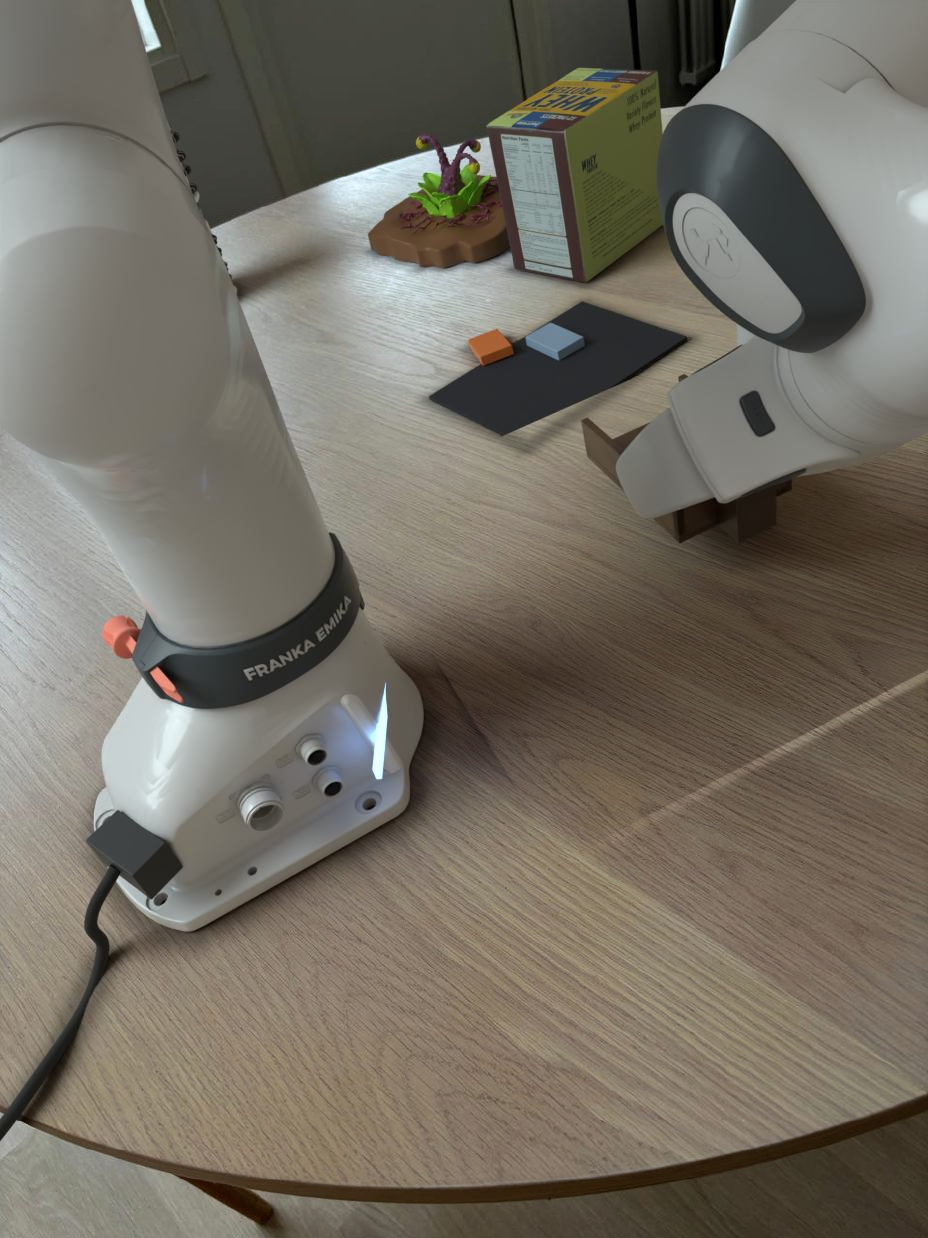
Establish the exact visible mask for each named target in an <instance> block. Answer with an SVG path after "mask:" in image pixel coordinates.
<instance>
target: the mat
mask: <svg viewBox="0 0 928 1238" xmlns="http://www.w3.org/2000/svg"><path fill="white" fill-rule="evenodd" d="M549 323H553V324H555V325H557V326H560V327H562V328H564V329H567V330H569V331H571V332H573V333H576V334H578V335H580V336H583V338H584V344H585V346H584V347H582V348H580V349H578V350H577V351H575V352H573V353H572V354H570V355H568V356H566V357H565V358H563V359H561V360H559V361H558V360H556V359H554V358H552V357H550V356H548V355H546V354H544V353H542V352H540V351H537V350H535V349H533V348H531V347H529V346H527V343H526V338H525V337H526V336H528V335H529V334H531V333H533V332H535V331H536V330H538V329H540V328H542V327H543V326H545V325H547V324H549ZM687 341H688V336H687V335H684V334H681V333H678V332H675V331H672V330H669V329H665V328H663V327H661V326H657V325H654V324H651V323H648V322H645V321H642V320H639V319H636V318H634V317H630V316H627V315H625V314H621V313H618V312H615V311H612V310H609V309H607V308H603V307H600V306H598V305H595V304H592V303H589V302H585V301H584V300H583V301H580V302H579V303H577V304H575V305H574V306H572V307H571V308H569V309H567V310H565V311H564V312H562V313H560V314H559V315H557V316H556V317H554V318H553V319H551V320H550V321H548V322H547V323H545V324H543V325H541V326H540V327H538V328H536V329H534V330H533V331H532V332H530V333H528V334H527V335H525V336H524V337H522V338H520V339H519V340H517V341H515V342H513V343H512V344H511V345H512V349H513V352H514V354H513V355H510V356H508V357H505V358H503V359H500V360H497V361H495V362H492V363H490V364H487V365H485V366H483V365H482V364H481V363H480V364H478V365H476V366H475V367H474V368H472V369H470V370H468V371H467V372H465V373H464V374H462V375H460V376H459V377H457V378H455V379H454V380H453V381H450V383H448V384H446V385H445V386H443V387H441V388H439V389H438V390H436V391H435V392H433V393H432V394H430V395H429V396H428V398H429V400H430V401H431V402H434V403H435V404H437V405H440V406H442V407H444V408H445V409H447V410H450V411H452V412H454V413H456V414H457V415H459V416H462V417H463V418H466V419H467V420H470V421H471V422H473V423H475V424H477V425H479V426H482V427H483V428H484V429H488V430H489V431H492V432H493V433H495V434H498V435H500V436H501V437H504V436H506V435H508V434H511V433H513V432H515V431H517V430H520V429H522V428H525V427H527V426H529V425H532V424H533V423H535V422H538V421H541V420H542V419H545V418H547V417H550V416H551V415H554V414H556V413H558V412H561V411H563V410H565V409H568V408H569V407H572V406H574V405H576V404H578V403H581V402H583V401H585V400H587V399H590V398H592V397H594V396H597V395H599V394H601V393H604V392H605V391H609V390H611V389H613V388H614V387H617V386H620V385H621V384H624V383H626V382H628V381H629V380H630V379H632V378H634V377H635V376H636V375H638V374H639V373H641V372H642V371H644V370H645V369H646V368H648V367H650V366H651V365H653V364H654V363H655V362H657V361H658V360H659V361H660V359H662V358H663V357H664V356H666V355H668V354H669V353H671V352H673V351H674V350H675V349H677V348H678V347H680V346H681V345H683V344H684V343H685V342H687Z"/></svg>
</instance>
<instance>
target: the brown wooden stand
mask: <svg viewBox="0 0 928 1238" xmlns="http://www.w3.org/2000/svg"><path fill="white" fill-rule="evenodd" d="M687 377H689V375H687V374H685V373H683V374H680V375H678V376H677V381H678V383H679V382H680V381H682V380H684V379H685V378H687ZM650 422H651V421H649V422H647V423H645V424H643V425H641V426H639V427H636V428H634V429H632V430H629V431H628V432H625V433H623V434H620V435H618V436H616V437H614V438H612V437H611V436H609V434H608V433H606V431H604V430H603V429H601V427H600V426H598V425H597V424H596V423H595V422H593V421H592V420H591V419H590V418H589V417H585V418H583V419H581V420H580V423H581V429H582V435H583V441H584V446H585V451H586V457H587V458H588V459H589V460H590V462H592V463H593V464H594V465H595V466H596V467H597V468H598V469H599V470H600V471H602V472H603V473H604V474H605V475H606V476H607V477H608V478H609V480H611V481H612V482H613V483H614V484H615V485H616V486H617V487H618V488H620V489H621V491H623V492H624V490H623V487H622V485H621V483H620V481H619V478H618V475H617V472H616V463H617V461H618V459H619V457H620V456H621V454H622V453H623V452H624V451H625V449H626V448H627V447H628V446H629V444H630V443H631V442H632V441H633V440H634V439H635V438H636V436H637V435H638V434H639V433H640V432H641V431H642V430H643V429H644V428H645V427H646V426H647V425H648V424H649V423H650ZM792 489H793V479H791V480H788V481H785V482H782V483H779V484H776V485H773V486H770V487H767V488H765V489H762V490H760V491H758V492H755V493H753V494H750V495H748V496H746V497H743V498H742V497H739V498H737V499H735V500H733V501H731V502H728V503H719V502H718V501H717V499H716V498H715V497H714V498H711V499H708V500H706V501H703V502H700V503H697V504H695V505H692V506H689V507H686V508H683V509H680V510H677V511H674V512H671V513H668V514H665V515H662V516H659V517H656V518H652V519H653V520H654V521H655V522H656V523H657V524H658V525H659V526H661V528H663V530H664V531H666V533H668V534H669V535H670V537H672V538H673V539H674V540H675V541H676V542H677V543H678V544H682V543H684V542H686V541H688V540H690V539H692V538H695V537H696V536H699V535H701V534H703V533H704V532H707V531H710V530H711V529H714V528H715V527H717V526H718V527H719V528H720V529H721V530H722V531H724V533H726V534H727V535H728V536H729V537H730V538H731V539H733V540H734V541H735V542H736V543H737V544H741V543H743V542H745V541H748V540H749V539H751V538H753V537H755V536H758V535H760V534H762V533H763V532H766V531H768V530H770V529H772V528H774V527H776V526H777V524H778V520H777V519H778V518H777V517H778V516H777V515H778V514H777V512H778V511H777V498H778V497H780V496H782V495H784V494H786V493H789V492H791V491H792Z"/></svg>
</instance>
